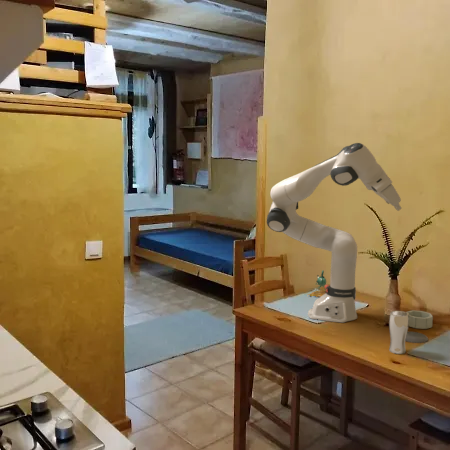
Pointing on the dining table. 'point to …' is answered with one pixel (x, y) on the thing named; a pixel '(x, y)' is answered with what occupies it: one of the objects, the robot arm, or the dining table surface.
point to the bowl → (419, 319)
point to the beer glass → (398, 331)
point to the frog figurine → (321, 282)
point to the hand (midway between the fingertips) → (394, 205)
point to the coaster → (416, 337)
